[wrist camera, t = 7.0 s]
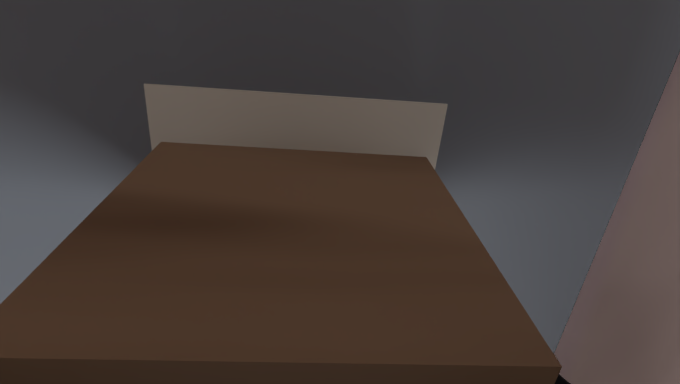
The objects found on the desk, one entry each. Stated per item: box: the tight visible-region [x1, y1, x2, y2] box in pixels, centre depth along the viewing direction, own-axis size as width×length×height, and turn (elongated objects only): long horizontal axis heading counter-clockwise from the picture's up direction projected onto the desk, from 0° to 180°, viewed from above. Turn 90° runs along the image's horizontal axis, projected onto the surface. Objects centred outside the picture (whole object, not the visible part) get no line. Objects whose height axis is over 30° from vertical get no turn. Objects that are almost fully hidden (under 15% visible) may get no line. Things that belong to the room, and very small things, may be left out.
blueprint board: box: [0, 0, 680, 354], centre depth 11 cm, size 13×16×1 cm
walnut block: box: [0, 142, 562, 384], centre depth 7 cm, size 5×5×5 cm
